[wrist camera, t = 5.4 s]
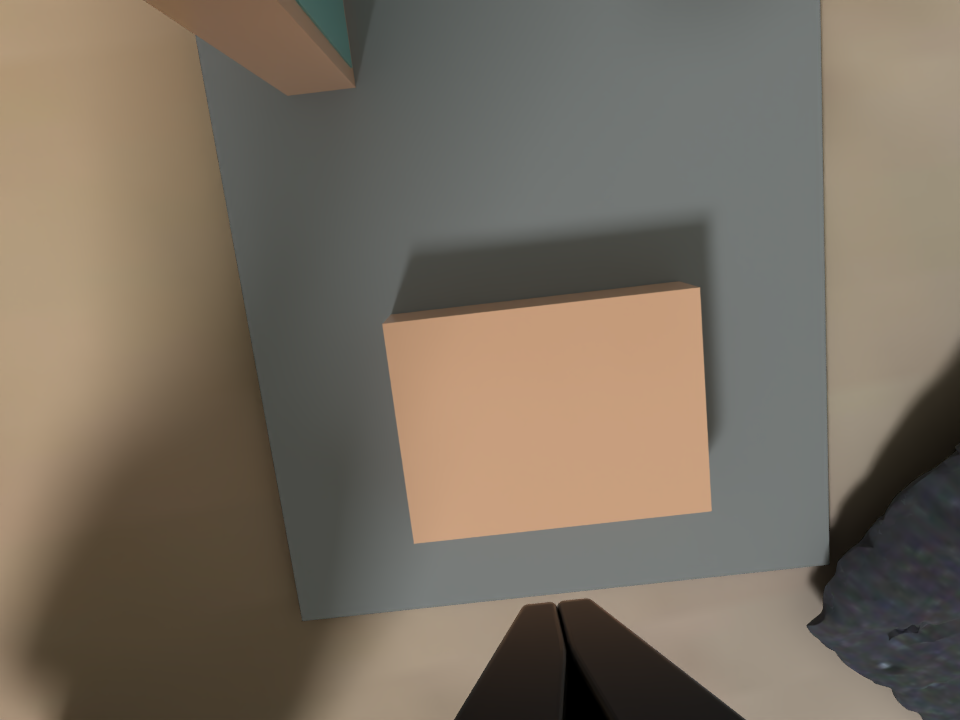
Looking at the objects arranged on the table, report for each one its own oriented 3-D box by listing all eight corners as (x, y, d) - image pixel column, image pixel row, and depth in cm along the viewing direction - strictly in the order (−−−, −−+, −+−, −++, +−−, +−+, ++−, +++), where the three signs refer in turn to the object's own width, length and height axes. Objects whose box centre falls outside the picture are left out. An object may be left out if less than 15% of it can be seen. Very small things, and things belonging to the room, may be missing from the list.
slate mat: (822, 558, 21) (829, 564, 21) (305, 613, 21) (302, 620, 21) (805, -368, 16) (813, -383, 16) (143, -281, 17) (135, -294, 16)
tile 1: (419, 515, 20) (690, 485, 20) (414, 543, 19) (711, 511, 18) (391, 313, 19) (678, 280, 19) (382, 323, 17) (700, 287, 17)
